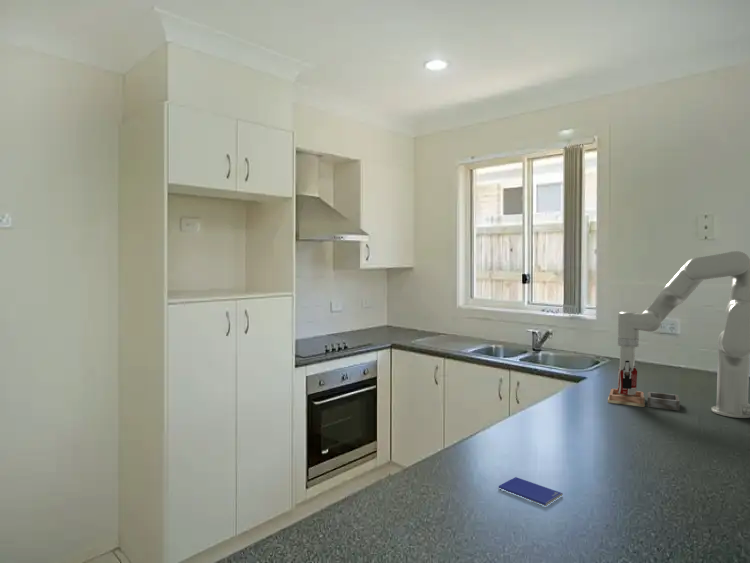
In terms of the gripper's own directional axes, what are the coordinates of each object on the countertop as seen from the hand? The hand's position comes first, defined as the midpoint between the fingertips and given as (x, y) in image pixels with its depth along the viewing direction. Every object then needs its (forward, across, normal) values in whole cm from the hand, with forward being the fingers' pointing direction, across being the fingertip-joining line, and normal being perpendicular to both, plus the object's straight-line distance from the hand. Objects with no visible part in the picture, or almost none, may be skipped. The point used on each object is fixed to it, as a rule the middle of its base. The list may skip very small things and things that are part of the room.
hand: (627, 386), depth 205 cm
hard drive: (+7, +104, -17) cm, 105 cm away
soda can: (+4, 0, 0) cm, 4 cm away
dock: (+6, 0, +6) cm, 9 cm away
